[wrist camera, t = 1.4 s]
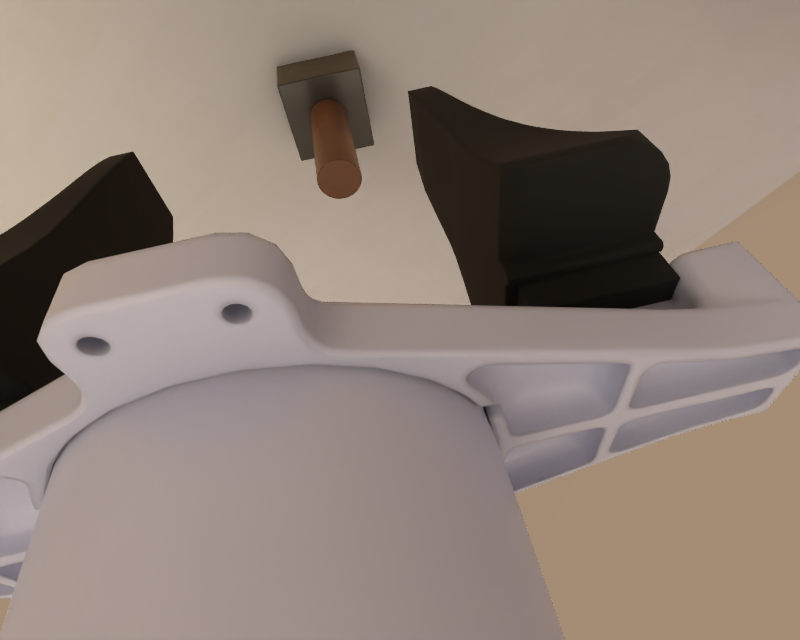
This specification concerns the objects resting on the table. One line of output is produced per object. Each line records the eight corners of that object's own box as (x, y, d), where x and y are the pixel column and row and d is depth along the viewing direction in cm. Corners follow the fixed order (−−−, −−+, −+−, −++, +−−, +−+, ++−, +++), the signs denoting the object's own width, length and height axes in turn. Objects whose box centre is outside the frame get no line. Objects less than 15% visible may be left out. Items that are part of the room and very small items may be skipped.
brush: (353, 49, 21) (377, 125, 16) (368, 124, 23) (392, 208, 19) (276, 66, 21) (278, 147, 16) (299, 140, 23) (306, 227, 18)
